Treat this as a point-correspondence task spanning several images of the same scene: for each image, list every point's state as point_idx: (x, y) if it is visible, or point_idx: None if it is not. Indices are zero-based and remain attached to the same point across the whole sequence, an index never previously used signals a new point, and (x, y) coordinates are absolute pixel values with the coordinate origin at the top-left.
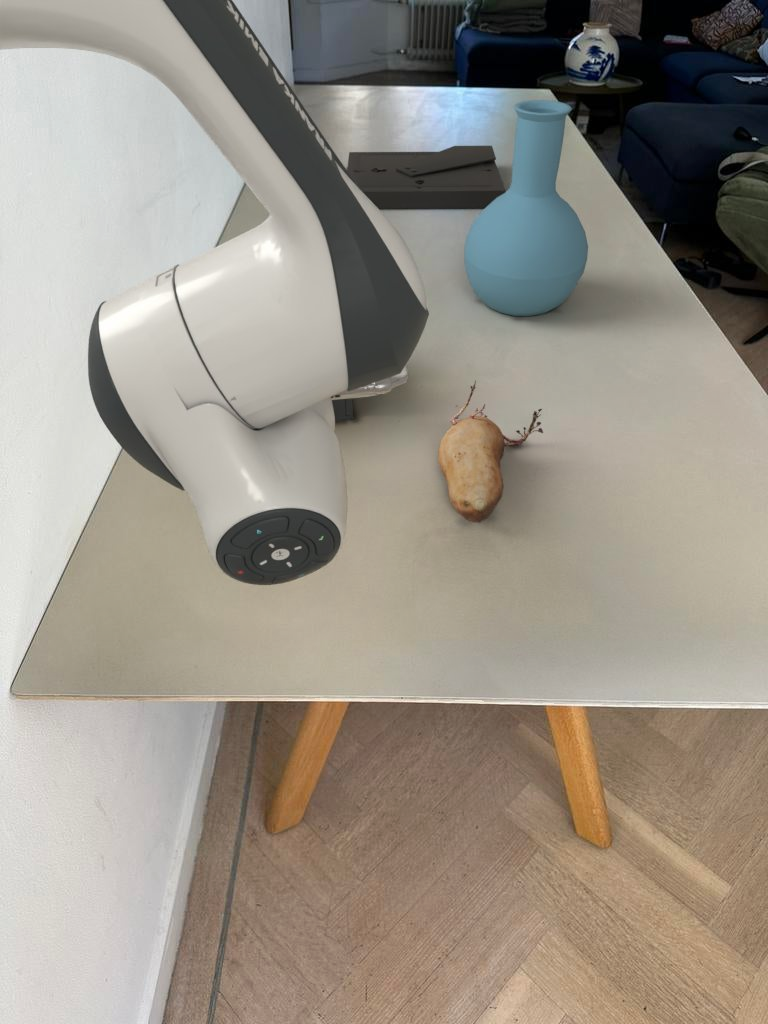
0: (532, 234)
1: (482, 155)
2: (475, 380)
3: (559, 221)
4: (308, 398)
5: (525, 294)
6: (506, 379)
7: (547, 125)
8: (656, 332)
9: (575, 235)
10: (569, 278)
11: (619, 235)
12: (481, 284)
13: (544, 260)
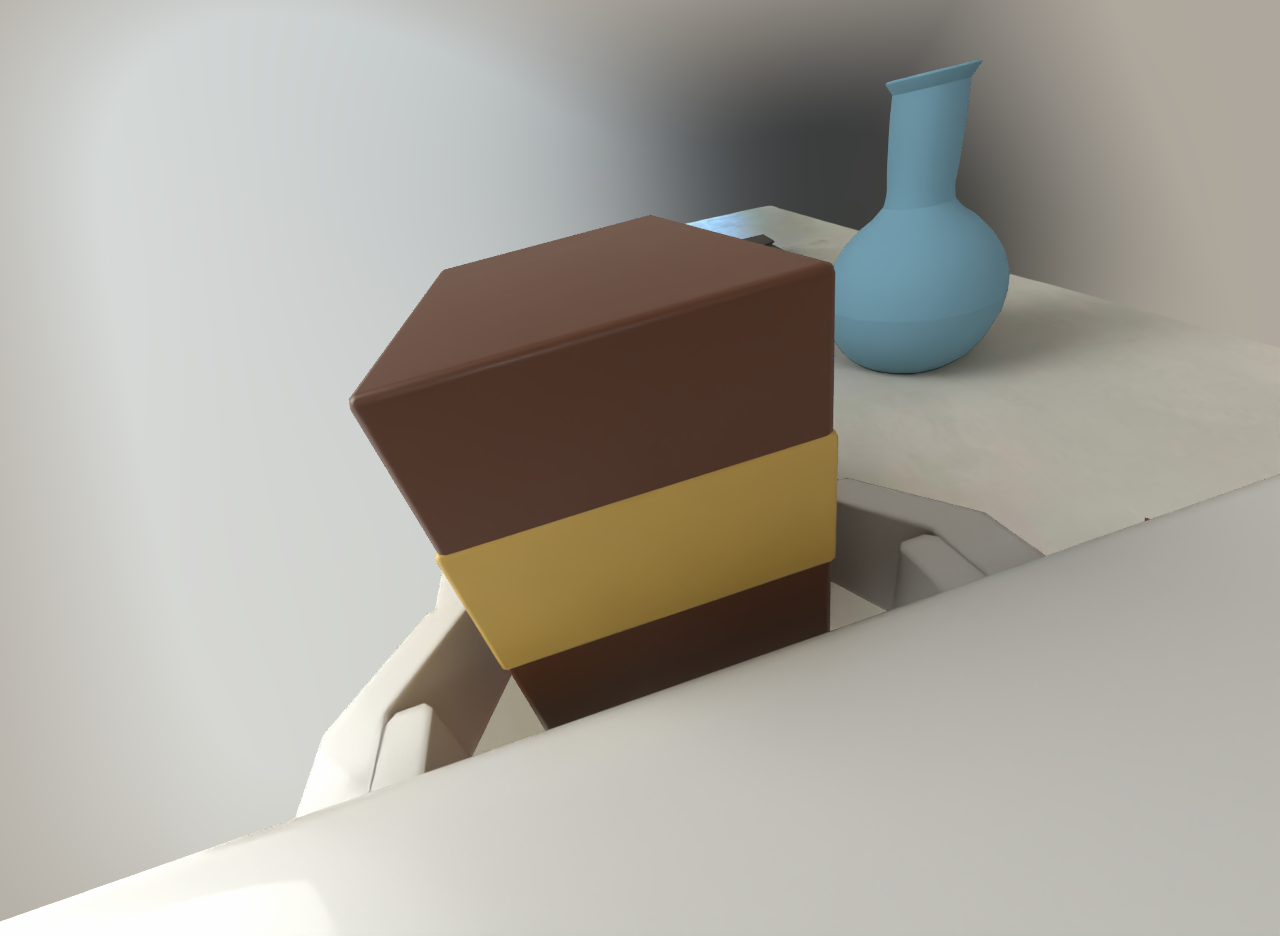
0: (948, 252)
1: (759, 242)
2: (1146, 518)
3: (978, 228)
4: None
5: (944, 339)
6: (994, 466)
7: (954, 87)
8: (1139, 350)
9: (1000, 244)
10: (1000, 304)
11: None
12: (869, 341)
13: (972, 284)
